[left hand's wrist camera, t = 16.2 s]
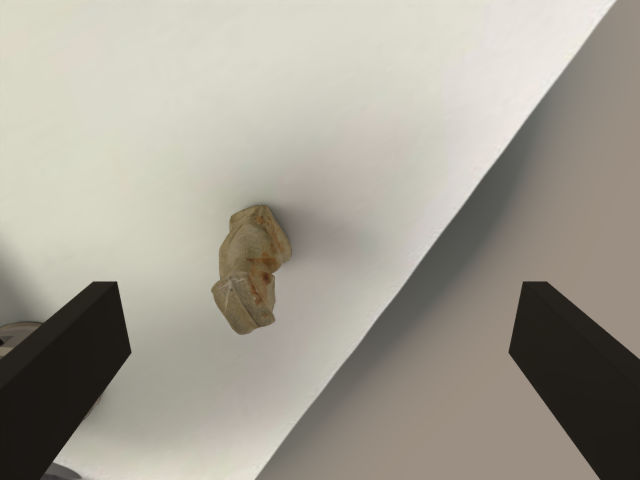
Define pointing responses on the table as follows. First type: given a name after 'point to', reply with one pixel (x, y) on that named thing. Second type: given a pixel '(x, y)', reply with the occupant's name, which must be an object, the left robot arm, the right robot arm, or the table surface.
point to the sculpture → (250, 269)
